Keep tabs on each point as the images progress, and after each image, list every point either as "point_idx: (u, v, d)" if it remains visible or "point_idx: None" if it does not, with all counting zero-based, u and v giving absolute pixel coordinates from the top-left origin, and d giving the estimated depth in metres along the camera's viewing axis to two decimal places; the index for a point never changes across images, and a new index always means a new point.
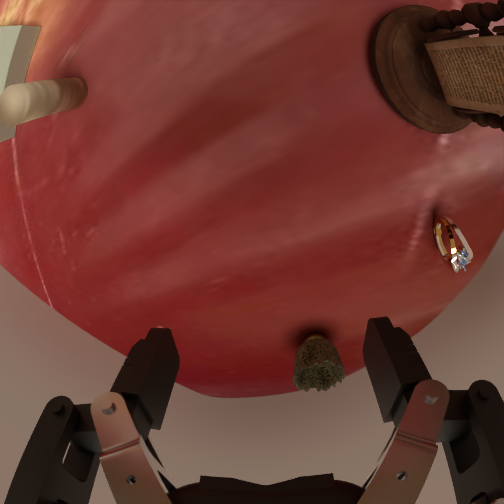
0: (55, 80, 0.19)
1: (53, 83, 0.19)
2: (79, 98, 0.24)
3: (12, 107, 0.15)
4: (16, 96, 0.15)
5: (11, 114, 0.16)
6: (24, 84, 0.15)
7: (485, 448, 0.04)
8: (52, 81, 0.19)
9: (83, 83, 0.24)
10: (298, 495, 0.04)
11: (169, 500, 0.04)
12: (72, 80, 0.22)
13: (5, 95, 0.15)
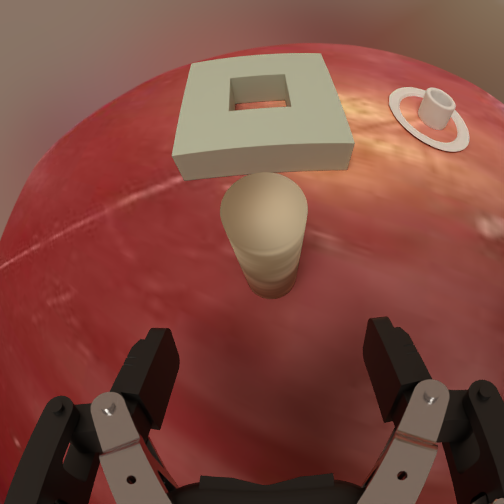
0: None
1: (298, 261, 0.17)
2: (269, 295, 0.21)
3: (262, 216, 0.13)
4: (287, 220, 0.13)
5: (248, 218, 0.13)
6: None
7: (485, 448, 0.04)
8: None
9: (291, 288, 0.22)
10: (298, 495, 0.04)
11: (169, 500, 0.04)
12: None
13: (281, 187, 0.13)
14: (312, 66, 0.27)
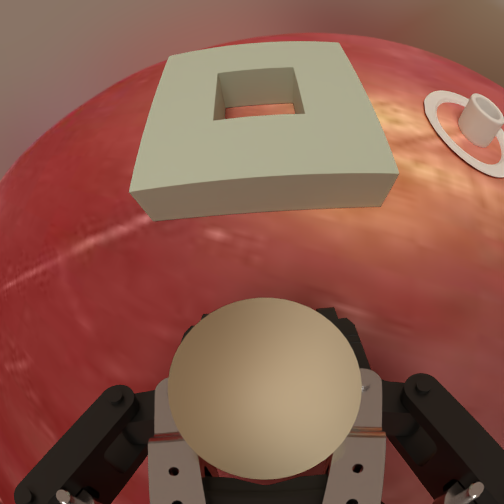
0: None
1: None
2: None
3: (260, 415, 0.05)
4: (315, 423, 0.05)
5: (228, 418, 0.05)
6: None
7: (440, 439, 0.05)
8: None
9: None
10: (298, 495, 0.04)
11: (169, 500, 0.04)
12: None
13: (305, 341, 0.05)
14: (329, 58, 0.19)
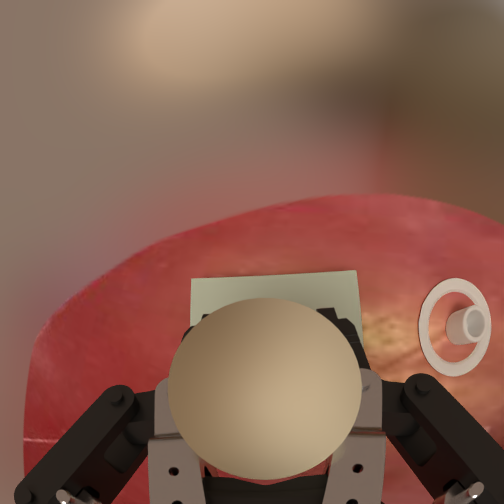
0: None
1: None
2: None
3: (260, 415, 0.05)
4: (315, 423, 0.05)
5: (228, 418, 0.05)
6: None
7: (440, 439, 0.05)
8: None
9: None
10: (298, 495, 0.04)
11: (169, 500, 0.04)
12: None
13: (305, 340, 0.05)
14: (343, 305, 0.25)
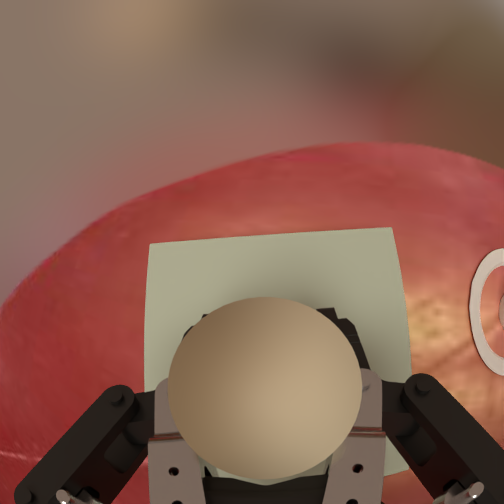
0: None
1: None
2: None
3: (261, 415, 0.05)
4: (316, 423, 0.05)
5: (228, 418, 0.05)
6: None
7: (440, 439, 0.05)
8: None
9: None
10: (298, 495, 0.04)
11: (169, 500, 0.04)
12: None
13: (306, 340, 0.05)
14: (377, 279, 0.16)
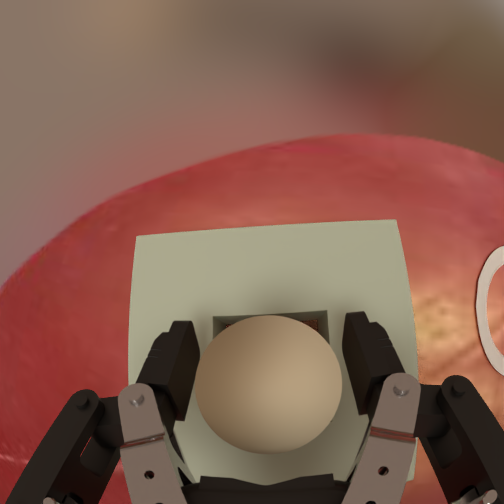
0: None
1: None
2: None
3: (266, 403, 0.07)
4: (307, 410, 0.07)
5: (241, 406, 0.07)
6: None
7: (466, 442, 0.05)
8: None
9: None
10: (298, 495, 0.04)
11: (169, 500, 0.04)
12: None
13: (299, 348, 0.07)
14: (381, 275, 0.15)
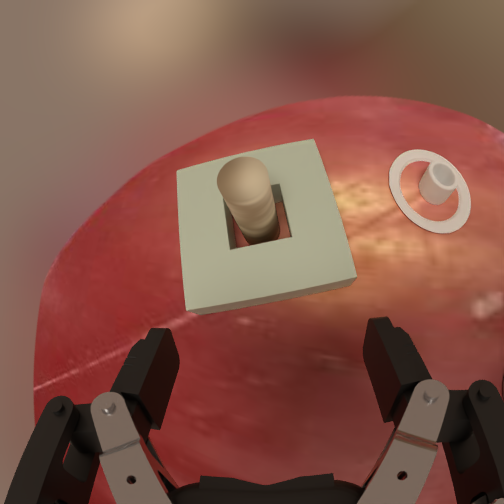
0: (275, 210, 0.27)
1: (273, 211, 0.26)
2: None
3: (242, 182, 0.21)
4: (256, 181, 0.21)
5: (233, 184, 0.21)
6: (269, 183, 0.22)
7: (485, 448, 0.04)
8: (274, 208, 0.26)
9: (276, 237, 0.31)
10: (298, 495, 0.04)
11: (169, 500, 0.04)
12: (277, 226, 0.29)
13: (251, 163, 0.22)
14: (307, 164, 0.29)
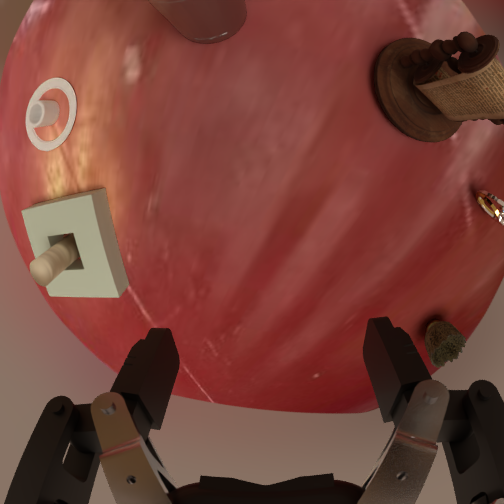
0: (60, 243, 0.35)
1: (59, 246, 0.35)
2: None
3: (41, 273, 0.31)
4: (40, 266, 0.30)
5: (43, 278, 0.31)
6: (41, 257, 0.31)
7: (485, 448, 0.04)
8: (58, 245, 0.35)
9: None
10: (298, 495, 0.04)
11: (169, 500, 0.04)
12: (71, 237, 0.38)
13: (32, 268, 0.31)
14: (35, 217, 0.35)
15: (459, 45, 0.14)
